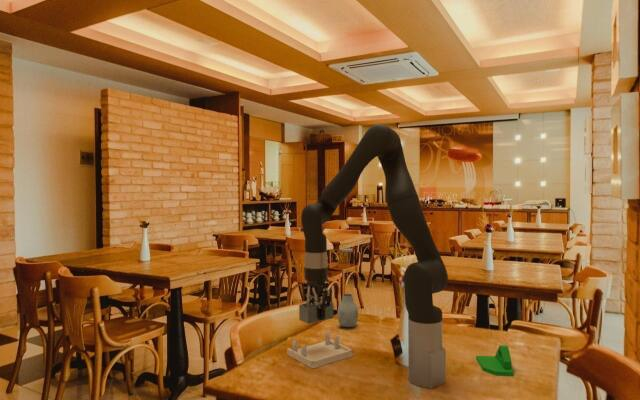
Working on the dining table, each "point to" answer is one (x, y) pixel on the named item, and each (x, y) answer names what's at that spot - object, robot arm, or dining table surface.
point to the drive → (313, 312)
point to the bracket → (497, 362)
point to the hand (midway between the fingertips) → (316, 317)
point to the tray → (320, 352)
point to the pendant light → (347, 306)
